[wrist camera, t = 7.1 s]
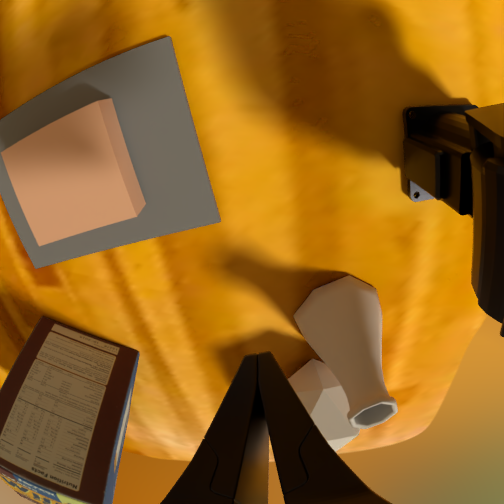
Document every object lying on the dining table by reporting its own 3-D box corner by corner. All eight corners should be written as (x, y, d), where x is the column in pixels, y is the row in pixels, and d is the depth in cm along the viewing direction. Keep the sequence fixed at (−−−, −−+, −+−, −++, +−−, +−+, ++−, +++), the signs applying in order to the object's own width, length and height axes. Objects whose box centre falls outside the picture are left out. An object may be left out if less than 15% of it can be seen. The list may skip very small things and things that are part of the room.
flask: (276, 313, 25) (290, 425, 16) (351, 258, 22) (404, 362, 14) (327, 354, 27) (351, 450, 19) (393, 309, 25) (440, 402, 16)
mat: (170, 37, 15) (169, 36, 14) (220, 219, 20) (220, 222, 20) (-17, 133, 16) (-20, 134, 16) (37, 266, 22) (35, 268, 21)
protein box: (54, 395, 31) (19, 496, 18) (41, 313, 24) (-30, 450, 11) (129, 422, 34) (109, 530, 20) (142, 350, 27) (104, 512, 13)
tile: (97, 100, 14) (0, 152, 14) (137, 216, 17) (39, 246, 18) (113, 97, 16) (20, 144, 16) (147, 201, 19) (54, 231, 20)
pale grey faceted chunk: (246, 366, 29) (256, 465, 25) (311, 354, 22) (323, 481, 18) (313, 360, 33) (321, 446, 29) (378, 346, 26) (389, 449, 22)
